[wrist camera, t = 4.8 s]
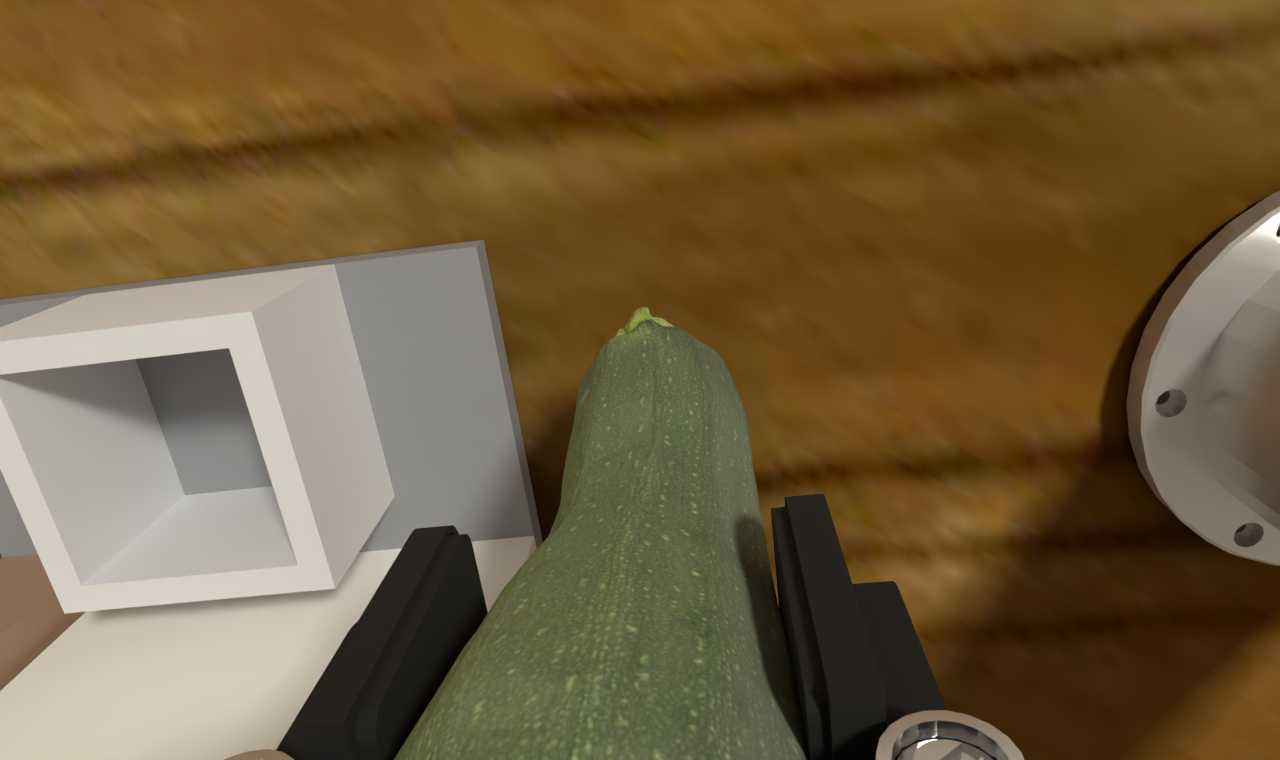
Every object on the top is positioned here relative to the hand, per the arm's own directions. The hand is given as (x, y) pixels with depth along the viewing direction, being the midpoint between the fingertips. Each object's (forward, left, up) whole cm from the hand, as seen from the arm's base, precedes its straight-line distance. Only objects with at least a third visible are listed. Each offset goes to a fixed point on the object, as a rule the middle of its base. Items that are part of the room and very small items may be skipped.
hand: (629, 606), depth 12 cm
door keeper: (+14, +3, -14) cm, 20 cm away
